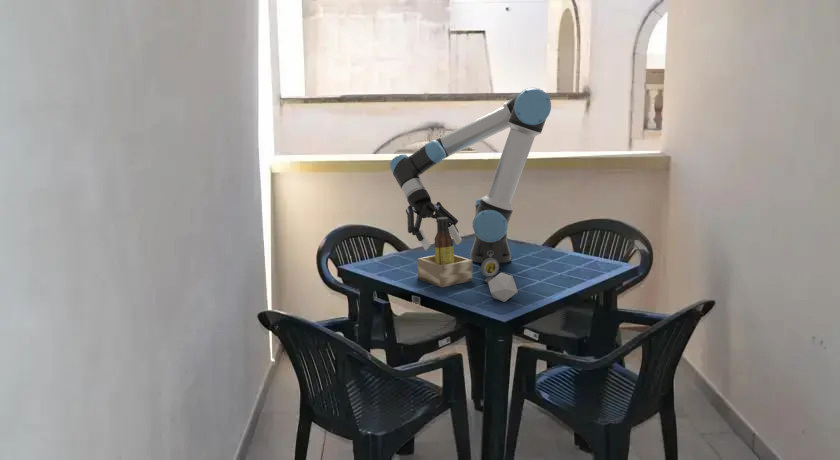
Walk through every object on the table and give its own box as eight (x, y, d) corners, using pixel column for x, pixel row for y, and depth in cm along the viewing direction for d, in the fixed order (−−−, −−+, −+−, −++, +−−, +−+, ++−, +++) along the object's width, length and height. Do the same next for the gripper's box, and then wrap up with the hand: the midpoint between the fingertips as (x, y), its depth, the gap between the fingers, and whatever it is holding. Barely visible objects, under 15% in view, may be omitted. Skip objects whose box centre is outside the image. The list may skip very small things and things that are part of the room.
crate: (447, 272, 235) (447, 252, 234) (472, 280, 225) (472, 260, 224) (417, 278, 228) (417, 258, 226) (441, 287, 217) (441, 266, 216)
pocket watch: (500, 286, 218) (500, 256, 216) (476, 282, 223) (477, 253, 221) (510, 280, 225) (511, 251, 223) (487, 276, 229) (488, 248, 227)
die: (522, 302, 204) (519, 273, 208) (510, 295, 197) (507, 264, 201) (498, 308, 208) (495, 279, 212) (485, 301, 201) (482, 271, 205)
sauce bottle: (458, 275, 227) (457, 217, 223) (448, 279, 222) (447, 220, 218) (441, 273, 231) (440, 215, 227) (431, 277, 226) (430, 218, 222)
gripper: (439, 197, 243) (466, 246, 234) (382, 204, 228) (409, 257, 219) (449, 184, 237) (477, 234, 229) (391, 191, 222) (419, 244, 214)
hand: (444, 245), depth 224 cm, fingers open, 13 cm apart
